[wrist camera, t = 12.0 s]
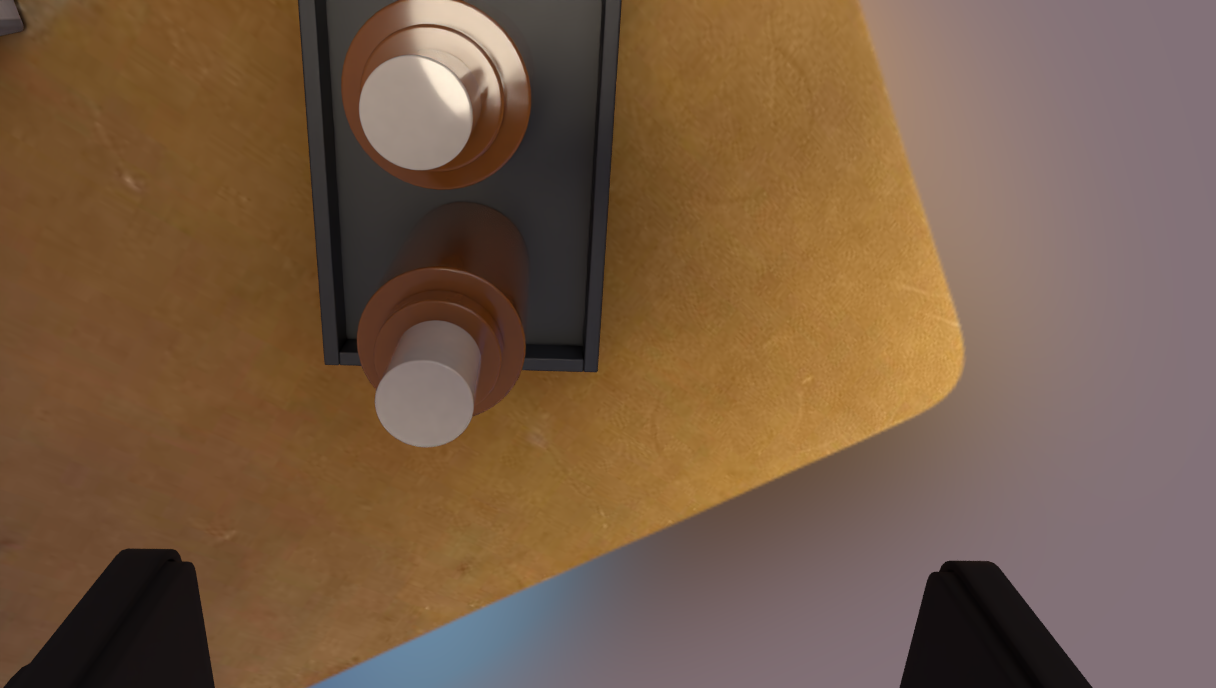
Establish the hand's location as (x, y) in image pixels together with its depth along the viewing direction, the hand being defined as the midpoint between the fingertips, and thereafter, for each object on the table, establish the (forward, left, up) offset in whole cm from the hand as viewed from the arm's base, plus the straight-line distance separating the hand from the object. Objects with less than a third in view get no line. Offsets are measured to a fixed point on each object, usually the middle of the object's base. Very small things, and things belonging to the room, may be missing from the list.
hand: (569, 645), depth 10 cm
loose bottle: (+3, +2, -25) cm, 25 cm away
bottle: (+3, -5, -25) cm, 25 cm away
